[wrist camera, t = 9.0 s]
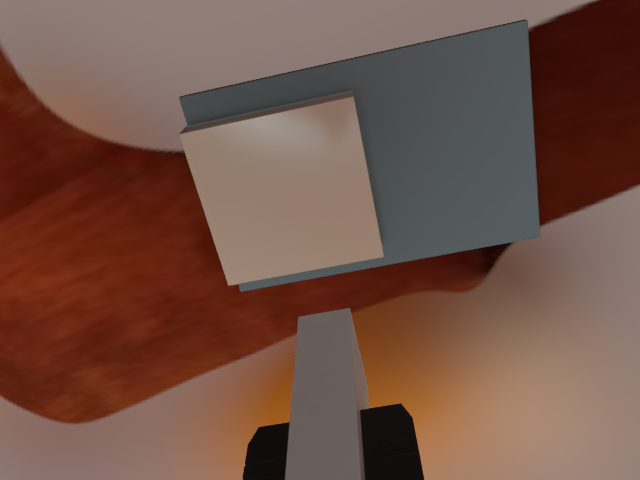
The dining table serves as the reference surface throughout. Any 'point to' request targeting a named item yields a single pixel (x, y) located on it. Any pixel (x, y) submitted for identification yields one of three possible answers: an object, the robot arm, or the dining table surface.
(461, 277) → the dining table surface
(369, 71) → the mat
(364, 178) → the tile
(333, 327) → the robot arm
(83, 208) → the dining table surface
